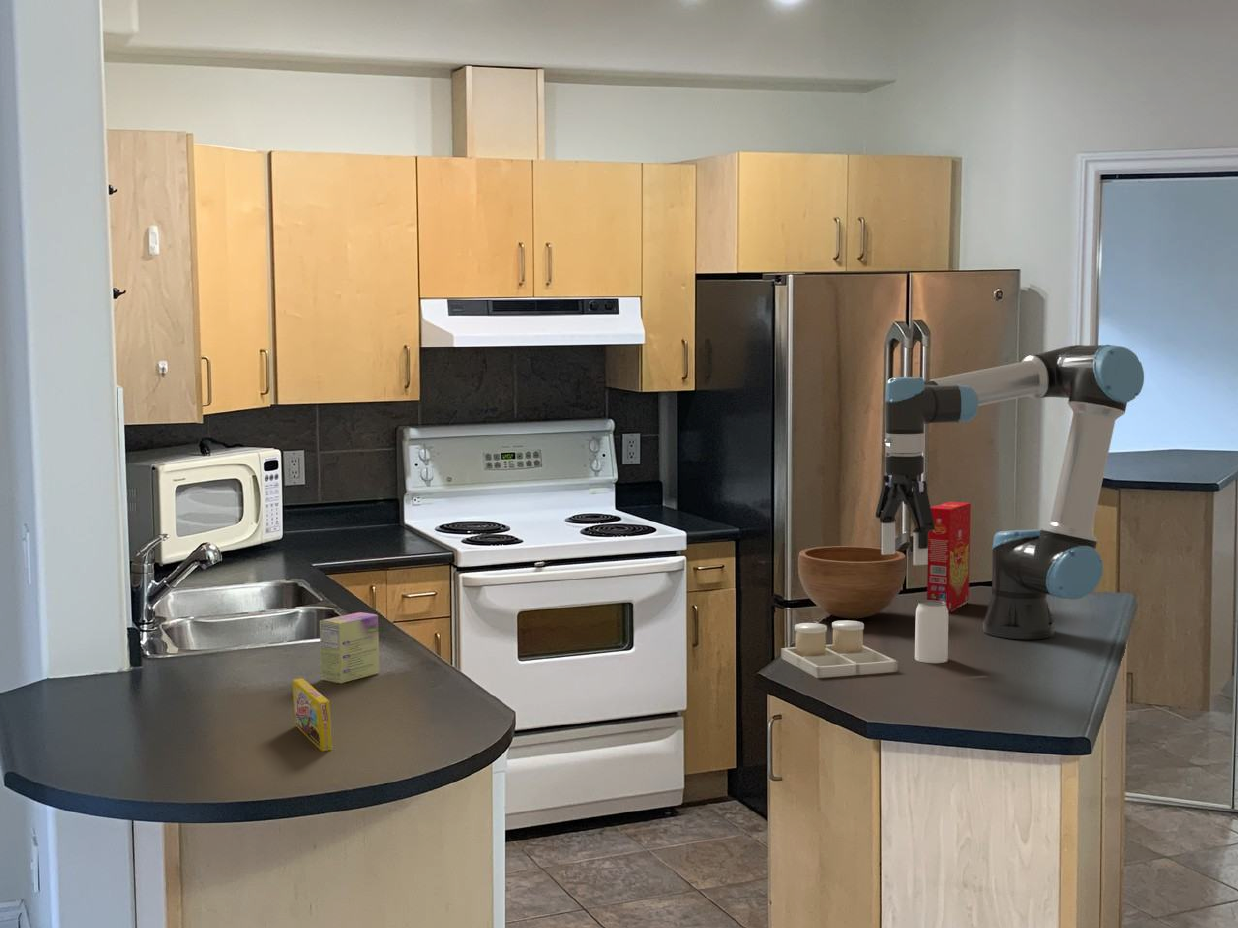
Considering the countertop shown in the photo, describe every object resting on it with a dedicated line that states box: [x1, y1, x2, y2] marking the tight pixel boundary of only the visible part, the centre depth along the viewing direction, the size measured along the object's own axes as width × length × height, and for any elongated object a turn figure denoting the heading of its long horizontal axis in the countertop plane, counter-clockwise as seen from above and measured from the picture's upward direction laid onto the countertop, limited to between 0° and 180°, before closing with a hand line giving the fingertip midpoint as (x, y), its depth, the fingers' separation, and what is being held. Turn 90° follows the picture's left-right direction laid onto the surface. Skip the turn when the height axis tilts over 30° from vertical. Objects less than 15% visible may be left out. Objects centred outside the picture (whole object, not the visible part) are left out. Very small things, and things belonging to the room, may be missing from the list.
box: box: [319, 611, 380, 684], centre depth 263 cm, size 10×6×12 cm, turn 145°
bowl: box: [797, 545, 907, 620], centre depth 318 cm, size 25×25×15 cm
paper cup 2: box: [831, 619, 865, 654], centre depth 276 cm, size 6×6×7 cm
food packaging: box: [926, 501, 972, 613], centre depth 329 cm, size 15×5×25 cm, turn 147°
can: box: [914, 599, 949, 664], centre depth 275 cm, size 6×6×12 cm
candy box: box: [292, 677, 333, 752], centre depth 223 cm, size 16×2×8 cm, turn 28°
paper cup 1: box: [794, 622, 828, 657], centre depth 273 cm, size 6×6×7 cm
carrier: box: [780, 643, 899, 679], centre depth 271 cm, size 17×17×2 cm
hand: (903, 559), depth 273 cm, fingers open, 13 cm apart
